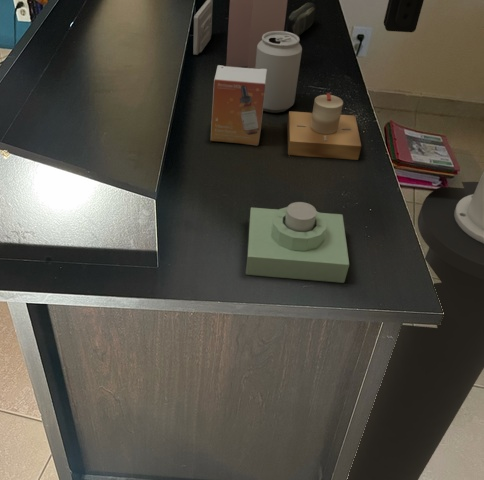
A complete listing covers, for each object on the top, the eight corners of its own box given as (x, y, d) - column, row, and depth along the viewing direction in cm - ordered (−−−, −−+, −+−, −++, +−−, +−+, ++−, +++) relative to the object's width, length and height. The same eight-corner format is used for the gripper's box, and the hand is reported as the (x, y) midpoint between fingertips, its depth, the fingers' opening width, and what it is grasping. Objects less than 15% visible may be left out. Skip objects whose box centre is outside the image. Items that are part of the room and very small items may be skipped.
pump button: (313, 216, 72) (316, 202, 70) (314, 234, 69) (317, 220, 68) (284, 214, 72) (286, 200, 71) (284, 231, 70) (286, 218, 68)
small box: (209, 142, 94) (212, 79, 86) (213, 125, 98) (216, 63, 90) (259, 146, 93) (266, 83, 86) (261, 129, 97) (267, 67, 90)
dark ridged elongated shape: (305, -1, 131) (283, 18, 121) (318, 1, 130) (296, 20, 120) (302, 22, 134) (280, 42, 124) (314, 24, 133) (293, 45, 123)
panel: (352, 129, 98) (355, 114, 96) (358, 160, 90) (361, 145, 89) (287, 124, 98) (289, 110, 97) (287, 155, 91) (290, 140, 89)
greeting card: (278, 61, 117) (287, -19, 107) (292, 76, 112) (303, -7, 102) (224, 66, 115) (229, -15, 105) (236, 82, 110) (242, -2, 100)
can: (247, 96, 106) (253, 29, 97) (286, 94, 107) (295, 27, 98) (257, 116, 100) (265, 46, 92) (299, 113, 101) (309, 44, 93)
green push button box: (338, 232, 77) (345, 201, 74) (344, 283, 70) (353, 251, 66) (248, 225, 78) (252, 194, 74) (245, 274, 71) (249, 243, 67)
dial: (338, 135, 91) (344, 106, 88) (310, 133, 91) (315, 104, 88) (336, 121, 94) (342, 93, 91) (309, 120, 94) (314, 91, 91)
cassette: (199, 56, 119) (200, 17, 113) (190, 55, 119) (191, 16, 114) (213, 35, 127) (215, -2, 122) (205, 34, 127) (206, -3, 122)
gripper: (526, -181, 44) (448, 58, 57) (477, -197, 55) (421, 7, 68) (426, -184, 45) (371, 54, 57) (397, -199, 55) (356, 4, 68)
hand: (398, 28), depth 62 cm, fingers closed
